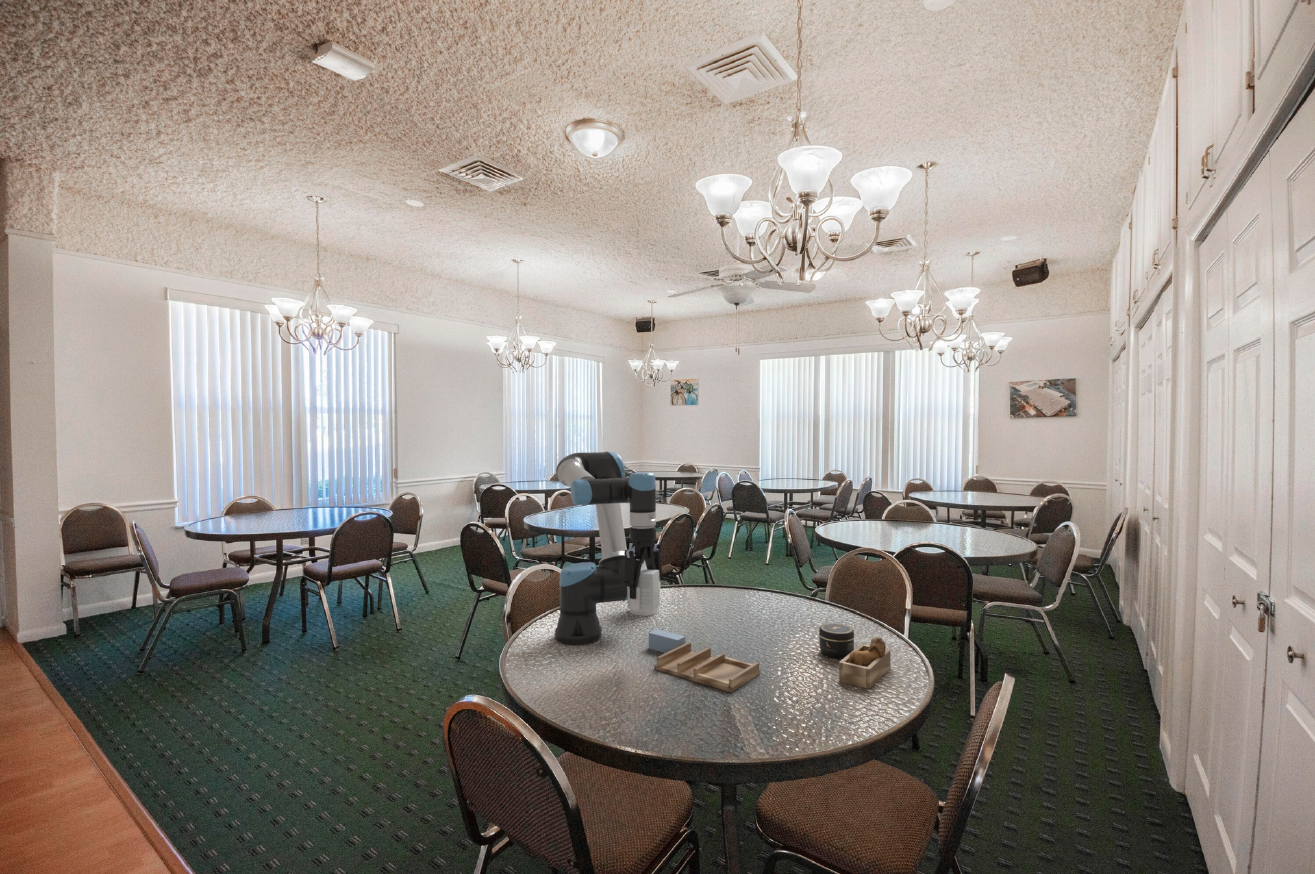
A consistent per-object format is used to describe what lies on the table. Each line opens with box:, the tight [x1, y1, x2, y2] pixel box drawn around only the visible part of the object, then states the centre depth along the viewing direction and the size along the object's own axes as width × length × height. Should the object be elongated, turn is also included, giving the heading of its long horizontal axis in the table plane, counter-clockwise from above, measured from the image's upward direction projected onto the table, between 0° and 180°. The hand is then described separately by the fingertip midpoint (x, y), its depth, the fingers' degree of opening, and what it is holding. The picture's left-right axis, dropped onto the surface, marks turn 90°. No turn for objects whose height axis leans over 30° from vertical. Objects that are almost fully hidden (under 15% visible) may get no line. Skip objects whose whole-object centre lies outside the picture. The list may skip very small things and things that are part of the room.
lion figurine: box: [848, 636, 887, 667], centre depth 159 cm, size 15×5×9 cm, turn 122°
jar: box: [818, 622, 855, 660], centre depth 175 cm, size 10×10×8 cm
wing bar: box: [648, 628, 687, 654], centre depth 179 cm, size 4×11×5 cm, turn 52°
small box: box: [627, 569, 661, 611], centre depth 169 cm, size 8×6×10 cm
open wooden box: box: [838, 643, 892, 690], centre depth 159 cm, size 8×17×5 cm, turn 142°
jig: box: [654, 641, 761, 693], centre depth 163 cm, size 25×15×4 cm, turn 52°
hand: (644, 606), depth 169 cm, fingers closed on small box, 7 cm apart
